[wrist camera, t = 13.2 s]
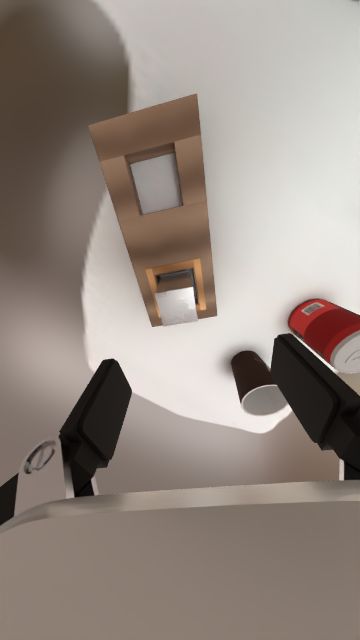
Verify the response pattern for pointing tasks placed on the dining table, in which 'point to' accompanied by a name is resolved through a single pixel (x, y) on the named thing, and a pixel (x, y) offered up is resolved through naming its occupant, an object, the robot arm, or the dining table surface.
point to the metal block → (176, 298)
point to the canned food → (329, 333)
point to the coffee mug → (256, 385)
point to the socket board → (167, 225)
